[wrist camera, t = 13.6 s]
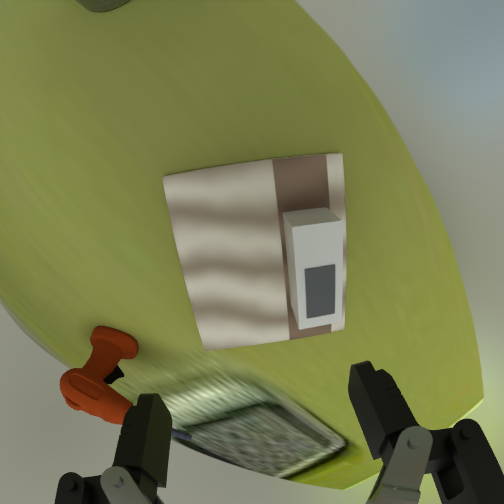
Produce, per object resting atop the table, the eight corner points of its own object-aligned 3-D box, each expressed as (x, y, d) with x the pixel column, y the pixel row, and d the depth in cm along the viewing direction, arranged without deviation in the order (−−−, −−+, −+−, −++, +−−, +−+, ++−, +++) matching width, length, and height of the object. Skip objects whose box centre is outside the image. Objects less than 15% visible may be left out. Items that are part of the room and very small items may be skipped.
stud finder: (282, 212, 32) (292, 227, 27) (325, 207, 32) (342, 221, 27) (290, 303, 36) (299, 330, 31) (328, 297, 36) (341, 322, 31)
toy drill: (203, 384, 41) (183, 463, 27) (96, 340, 40) (49, 402, 26) (211, 364, 40) (190, 448, 25) (96, 317, 38) (43, 380, 24)
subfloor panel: (164, 175, 31) (161, 177, 29) (338, 152, 31) (342, 153, 30) (205, 345, 40) (204, 351, 39) (341, 324, 40) (344, 329, 39)
